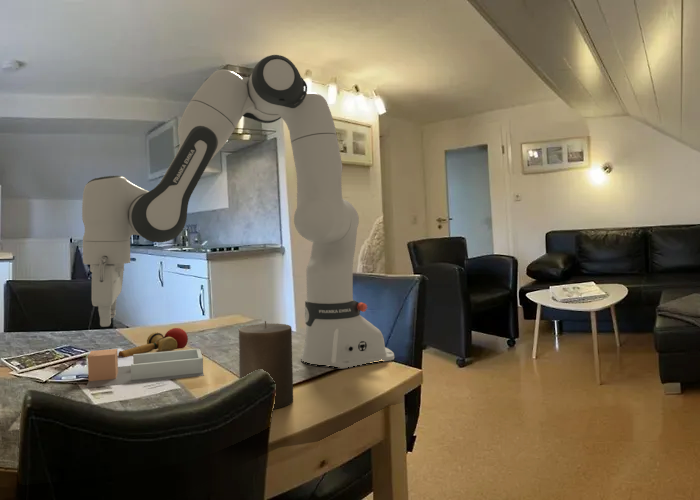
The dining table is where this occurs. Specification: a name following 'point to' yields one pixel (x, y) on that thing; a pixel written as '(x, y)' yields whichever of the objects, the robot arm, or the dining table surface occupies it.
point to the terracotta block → (102, 365)
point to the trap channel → (157, 368)
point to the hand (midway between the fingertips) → (108, 321)
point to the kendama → (160, 342)
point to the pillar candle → (269, 356)
